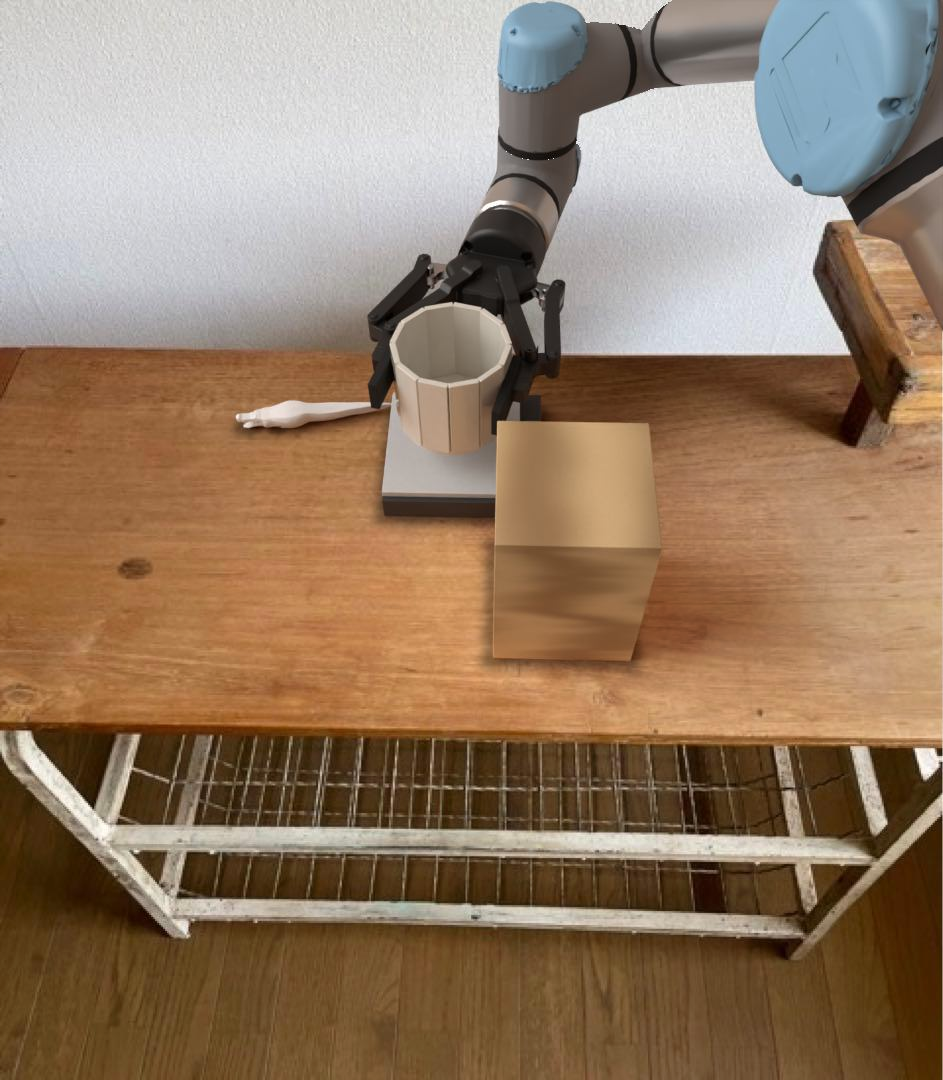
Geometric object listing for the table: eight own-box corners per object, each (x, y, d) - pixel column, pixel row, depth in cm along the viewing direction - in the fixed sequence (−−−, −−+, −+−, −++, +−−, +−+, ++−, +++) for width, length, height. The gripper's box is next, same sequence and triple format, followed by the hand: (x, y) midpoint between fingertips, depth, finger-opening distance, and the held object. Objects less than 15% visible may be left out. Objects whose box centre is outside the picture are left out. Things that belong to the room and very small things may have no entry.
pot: (520, 388, 82) (523, 315, 75) (490, 467, 77) (491, 397, 70) (419, 367, 84) (413, 293, 77) (383, 443, 79) (373, 372, 72)
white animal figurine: (238, 437, 87) (234, 424, 85) (238, 417, 88) (234, 403, 87) (395, 420, 88) (394, 407, 86) (393, 400, 90) (391, 386, 88)
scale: (539, 410, 88) (541, 390, 86) (541, 518, 81) (542, 499, 79) (395, 408, 89) (393, 388, 87) (384, 516, 81) (381, 496, 79)
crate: (622, 547, 79) (649, 422, 66) (630, 661, 73) (662, 548, 60) (495, 545, 79) (497, 420, 66) (492, 658, 73) (494, 545, 60)
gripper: (620, 294, 87) (565, 470, 74) (399, 252, 90) (312, 413, 78) (631, 227, 80) (573, 406, 68) (393, 185, 84) (298, 348, 72)
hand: (434, 410), depth 73 cm, fingers closed on pot, 10 cm apart
